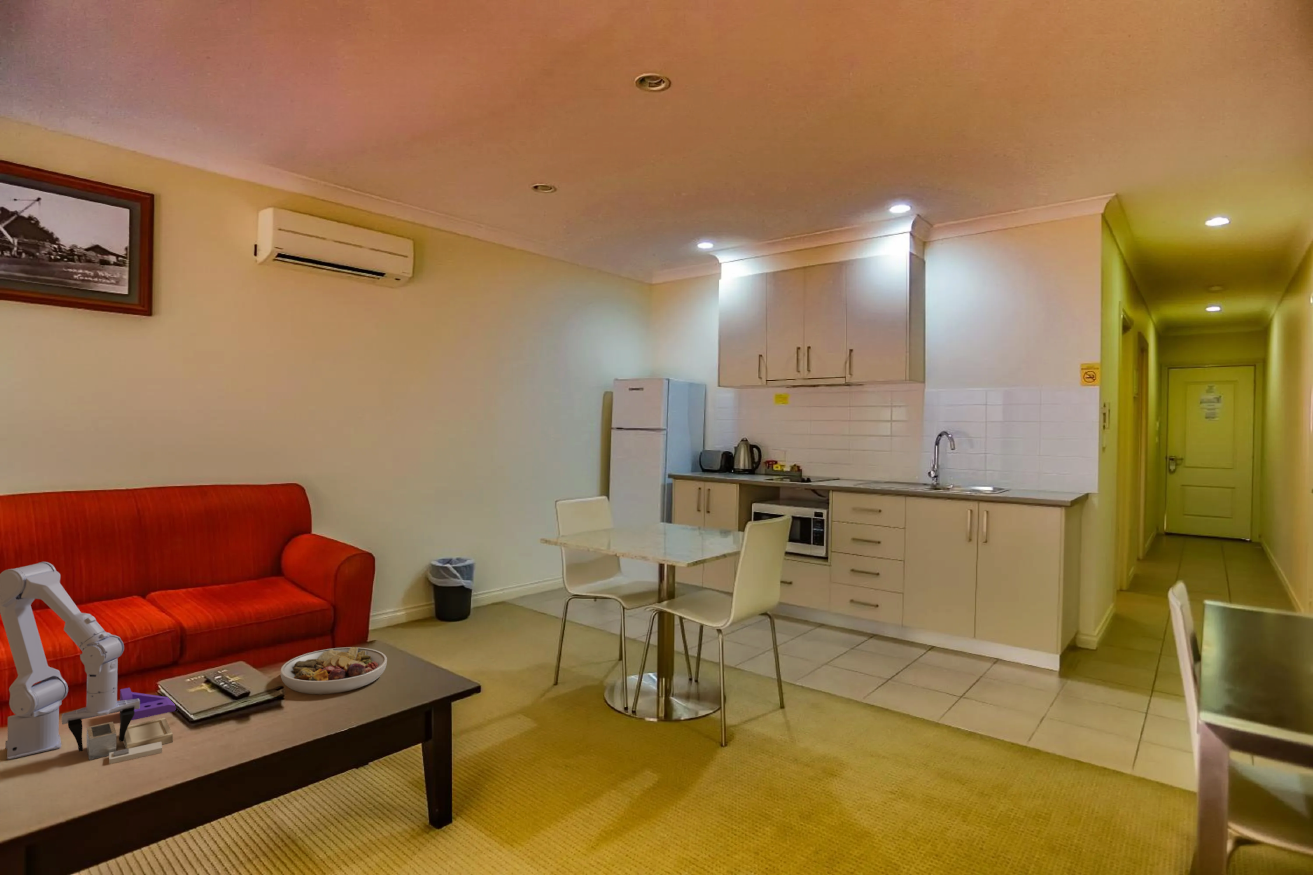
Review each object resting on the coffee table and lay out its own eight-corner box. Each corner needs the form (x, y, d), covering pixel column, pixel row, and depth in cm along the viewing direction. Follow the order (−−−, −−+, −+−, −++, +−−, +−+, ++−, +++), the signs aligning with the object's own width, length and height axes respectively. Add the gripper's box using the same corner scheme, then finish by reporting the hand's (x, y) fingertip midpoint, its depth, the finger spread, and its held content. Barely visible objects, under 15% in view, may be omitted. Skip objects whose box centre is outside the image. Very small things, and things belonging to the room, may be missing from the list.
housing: (88, 760, 161) (89, 739, 161) (86, 747, 167) (86, 727, 167) (116, 753, 164) (116, 733, 164) (112, 741, 170) (113, 721, 170)
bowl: (261, 681, 212) (261, 655, 211) (352, 655, 236) (352, 632, 236) (313, 707, 194) (314, 679, 194) (406, 676, 219) (406, 652, 219)
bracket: (122, 723, 181) (122, 697, 181) (119, 714, 186) (120, 689, 186) (177, 711, 189) (178, 686, 189) (173, 703, 194) (174, 679, 194)
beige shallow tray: (127, 752, 165) (127, 744, 165) (121, 734, 174) (121, 726, 174) (172, 741, 171) (172, 733, 171) (165, 724, 180) (165, 717, 180)
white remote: (162, 754, 166) (162, 745, 166) (109, 766, 160) (109, 757, 160) (161, 747, 169) (161, 739, 169) (109, 759, 163) (109, 750, 163)
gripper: (63, 701, 157) (62, 760, 158) (141, 686, 167) (140, 742, 168) (61, 692, 163) (60, 748, 163) (138, 678, 172) (137, 731, 173)
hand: (101, 744), depth 166 cm, fingers open, 7 cm apart
